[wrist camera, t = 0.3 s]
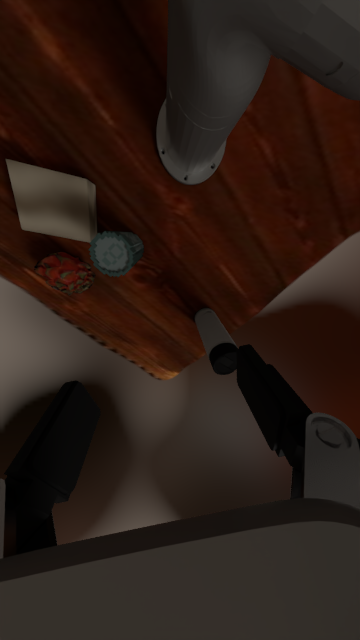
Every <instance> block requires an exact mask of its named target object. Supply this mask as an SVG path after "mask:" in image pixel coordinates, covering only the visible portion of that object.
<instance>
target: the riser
mask: <svg viewBox="0 0 360 640" xmlns="http://www.w3.org/2000/svg"><path fill="white" fill-rule="evenodd" d="M6 163H7V167H8V171H9V176H10V180H11V184H12V189H13V193H14V197H15V201H16V206H17V210H18V214H19V219H20V223H21V227H22V230H27V231H33V232H38V233H43V234H48V235H54V236H59V237H64V238H70V239H75V240H80V241H85V242H91V241H92V240H93V239H94V237H95V236H96V235H97V213H96V190H95V185H94V184H93V183H91V182H90V181H89V180H87V179H84V178H80V177H76V176H72V175H68V174H64V173H60V172H56V171H53V170H49V169H45V168H41V167H37V166H33V165H29V164H25V163H21V162H17V161H13V160H9V159H6Z"/></svg>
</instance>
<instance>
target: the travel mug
mask: <svg viewBox="0 0 360 640" xmlns="http://www.w3.org/2000/svg"><path fill="white" fill-rule="evenodd" d="M195 322H196V325H197V328H198V331H199V333H200V336H201V339H202V341H203V344H204V347H205V349H206V352H207V355H208V357H209V360H210V362H211V365H212V367H213V370H214V371H215V373H217V374H220V375H226V374H230V373H232V372H233V371H234V370H236V369H237V349H238V348H237V346H236V344H235V343H234V341H233V340H232V338H231V337H230V335H229V334H228V332H227V331H226V329H225V328H224V326H223V325H222V323H221V322H220V320H219V319H218V317H217V315H216V314H215V312H214V311H213V310H212V309H209V308H203V309H201V310H199V311H198V312H197V313H196V315H195Z"/></svg>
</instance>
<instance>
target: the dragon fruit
mask: <svg viewBox="0 0 360 640" xmlns="http://www.w3.org/2000/svg"><path fill="white" fill-rule="evenodd" d="M47 256H48V257H45V258H44V259H43V260H41V261H39V262H38V263H37V264H36V266H35V267H34V268H37V267H40V268H37V269H34V270H35V272H36V273H37V274H39V275H42V276H44V277H47V278H49V280H48V281H45V282H46V283H47V284H48V285H49V286H51V287H52V288H54V289H56V290H59V289H60V291H62V292H65V293H68V295H71V294H72V293H73V292H75V293H80V294H81V293H82V292H83V291H84V290H87V289H88V288H90V287H91V286H92V284H93V283H94V278H95V274H94V273H93V272H92V271H88V269H91V266H90V265H89V264H87V263H84V262H81V261H80V259H79V257H76V258H74V257H72V256H71V255H70V254H67V253H65V252H57V253H54V254H48V255H47ZM91 280H92V281H93V282H92V281H91ZM53 286H54V287H53ZM58 288H59V289H58Z"/></svg>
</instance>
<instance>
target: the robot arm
mask: <svg viewBox="0 0 360 640" xmlns="http://www.w3.org/2000/svg"><path fill="white" fill-rule="evenodd" d="M271 55H273V56H274V57H276V58H277V59H282V60H284V61H285V62H287V63H288V64H290V65H291V66H293V67H294V68H296V69H298V70H299V71H301V72H302V73H304V74H305V75H307V76H308V77H310V78H312V79H313V80H315V81H316V82H318V83H319V84H321V85H322V86H324V87H326V88H328V89H330V90H332V91H333V92H335V93H337V94H339V95H341V96H343V97H345V98H347V99H351V100H360V0H168V45H167V91H166V99H165V101H164V103H163V105H162V107H161V109H160V112H159V116H158V120H157V127H156V139H157V147H158V152H159V156H160V159H161V161H162V163H163V165H164V167H165V169H166V170H167V172H168V173H169V174H170V175H171V176H172V177H173V178H174V179H175V180H177V181H178V182H180V183H183V184H186V185H195V184H199V183H201V182H204V181H205V180H206V179H208V178H209V177H210V176H211V175H212V174H213V173H214V172H215V170H216V169H217V167H218V165H219V164H220V162H221V159H222V157H223V154H224V150H225V146H226V138H227V137H228V135H229V134H230V132H231V131H232V129H233V128H234V126H235V125H236V123H237V122H238V120H239V119H240V117H241V116H242V114H243V113H244V111H245V110H246V108H247V107H248V105H249V103H250V102H251V100H252V99H253V97H254V95H255V94H256V92H257V90H258V88H259V86H260V84H261V82H262V79H263V77H264V74H265V72H266V69H267V66H268V63H269V59H270V56H271ZM162 152H164V154H162ZM211 166H212V167H213V169H211ZM184 178H186V180H184ZM237 383H238V386H239V388H240V389H241V392H242V394H243V396H244V398H245V400H246V402H247V404H248V406H249V407H250V410H251V412H252V413H253V415H254V418H255V419H256V421H257V423H258V425H259V427H260V429H261V431H262V433H263V435H264V437H265V439H266V441H267V443H268V445H269V447H270V449H271V450H275V451H276V453H277V455H278V457H281V456H285V457H286V458H287V460H288V462H289V464H290V465H291V466H292V480H291V493H290V500H280V501H274V502H269V503H263V504H257V505H252V506H246V507H241V508H236V509H231V510H226V511H221V512H216V513H211V514H206V515H201V516H196V517H191V518H186V519H181V520H176V521H172V522H168V523H162V524H157V525H153V526H147V527H143V528H138V529H133V530H128V531H124V532H119V533H114V534H109V535H105V536H100V537H95V538H90V539H86V540H81V541H76V542H72V543H68V544H62V545H58V546H57V540H56V534H55V528H54V521H53V515H52V508H53V505H54V503H60V502H66V501H68V499H69V496H70V494H71V492H72V491H73V490H74V488H75V486H76V483H77V480H78V477H79V474H80V471H81V469H82V466H83V463H84V460H85V457H86V454H87V451H88V448H89V446H90V443H91V440H92V437H93V434H94V431H95V428H96V425H97V422H98V420H99V416H100V409H99V407H98V406H97V404H96V403H95V402H94V400H93V399H92V397H91V396H90V394H89V393H88V392H87V390H86V389H85V387H84V386H83V385H82V383H80V382H78V381H71V382H67V383H65V384H64V385H63V386H62V387H61V389H60V390H59V392H58V393H57V395H56V396H55V398H54V399H53V401H52V403H51V404H50V405H49V407H48V409H47V410H46V411H45V413H44V414H43V416H42V417H41V419H40V421H39V422H38V423H37V425H36V427H35V428H34V430H33V431H32V433H31V434H30V436H29V437H28V439H27V440H26V442H25V443H24V445H23V446H22V448H21V449H20V451H19V452H18V454H17V455H16V457H15V458H14V460H13V461H12V463H11V464H10V466H9V467H8V469H7V470H6V472H5V473H4V474H5V475H7V478H6V479H5V481H4V480H3V479H0V640H360V439H358V438H356V436H355V435H354V434H353V432H352V431H351V429H350V428H348V427H347V426H346V425H345V424H344V423H343V422H341V421H339V420H338V419H337V418H335V417H333V416H330V415H328V414H324V413H312V411H311V410H310V409H309V408H308V407H307V406H306V404H305V403H304V402H303V401H302V400H301V399H300V397H299V396H298V395H297V394H296V393H295V391H294V390H293V389H292V388H291V387H290V386H289V384H288V383H287V382H286V381H285V380H284V378H283V377H282V376H281V375H280V374H279V373H278V371H277V370H276V369H275V368H274V367H273V366H272V365H270V364H267V365H266V363H265V362H264V361H263V360H262V358H261V357H260V356H259V355H258V353H257V352H256V351H255V350H254V348H253V347H252V346H251V345H249V344H248V345H243V346H240V347H239V349H237Z"/></svg>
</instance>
